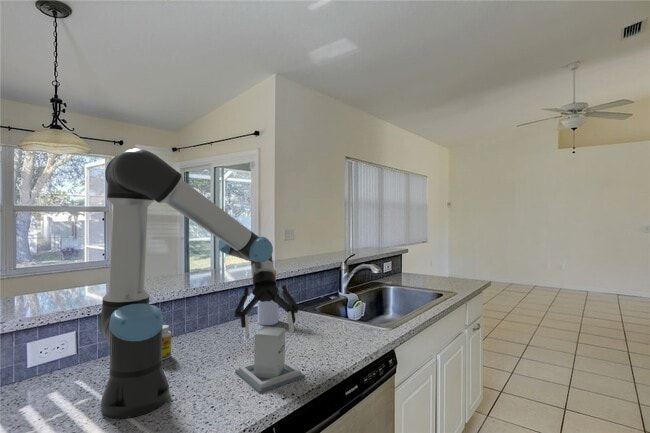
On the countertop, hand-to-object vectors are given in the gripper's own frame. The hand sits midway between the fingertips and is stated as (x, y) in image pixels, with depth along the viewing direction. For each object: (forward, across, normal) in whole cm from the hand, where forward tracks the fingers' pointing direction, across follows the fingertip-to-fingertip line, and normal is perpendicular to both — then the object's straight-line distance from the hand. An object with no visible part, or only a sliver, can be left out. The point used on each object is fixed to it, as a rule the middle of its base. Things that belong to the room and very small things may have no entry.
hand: (270, 334), depth 106 cm
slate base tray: (+9, 0, -6) cm, 11 cm away
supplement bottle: (-6, +32, -23) cm, 40 cm away
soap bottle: (-25, -7, -41) cm, 49 cm away
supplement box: (+9, 0, -6) cm, 11 cm away
